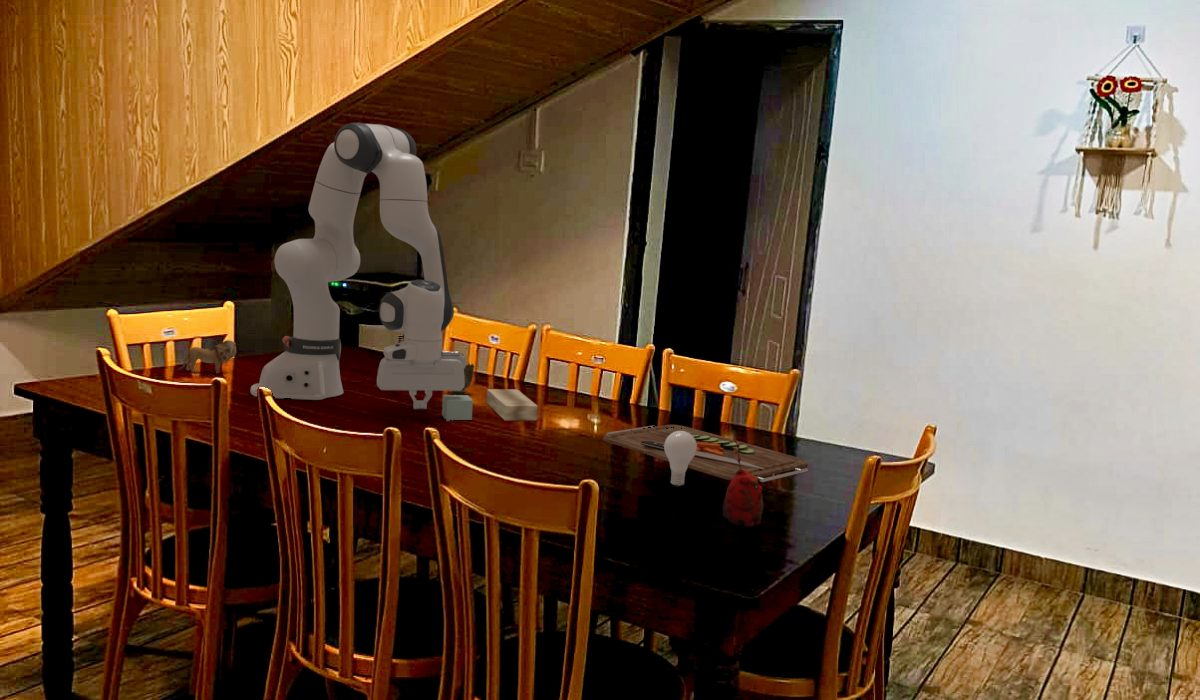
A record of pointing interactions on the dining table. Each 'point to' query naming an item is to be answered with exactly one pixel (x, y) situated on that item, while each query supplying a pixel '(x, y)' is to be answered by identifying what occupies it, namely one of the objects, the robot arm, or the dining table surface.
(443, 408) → the block
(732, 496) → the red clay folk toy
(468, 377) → the cup
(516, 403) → the board
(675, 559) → the dining table surface
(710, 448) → the chopping board
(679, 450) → the lightbulb
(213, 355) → the lion figurine
